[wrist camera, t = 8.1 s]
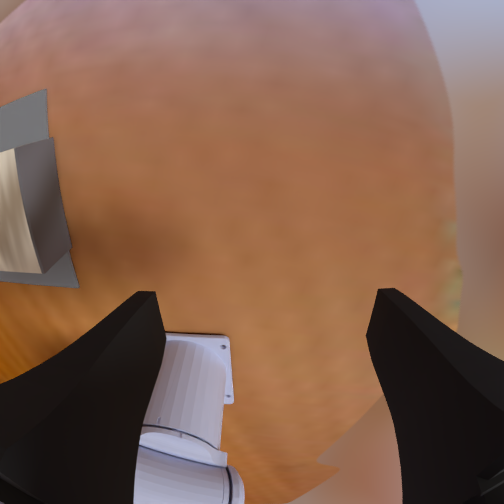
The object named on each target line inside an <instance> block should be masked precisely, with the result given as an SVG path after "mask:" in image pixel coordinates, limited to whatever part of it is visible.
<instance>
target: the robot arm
mask: <svg viewBox="0 0 504 504" xmlns="http://www.w3.org/2000/svg"><path fill="white" fill-rule="evenodd" d="M366 338H367V343H368V347H369V352H370V356H371V360H372V363H373V366H374V368H375V371H376V374H377V377H378V379H379V382H380V385H381V387H382V390H383V393H384V396H385V398H386V401H387V404H388V407H389V410H390V412H391V416H392V420H393V423H394V427H395V433H396V438H397V444H398V450H399V457H400V464H401V476H402V490H403V491H402V492H403V504H504V361H502V360H500V359H498V358H497V357H495V356H493V355H491V354H489V353H487V352H486V351H484V350H482V349H480V348H479V347H477V346H475V345H474V344H472V343H470V342H469V341H468V340H466V339H465V338H463V337H462V336H460V335H459V334H457V333H456V332H454V331H453V330H452V329H450V328H449V327H447V326H446V325H445V324H443V323H442V322H441V321H439V320H438V319H437V318H435V317H434V316H433V315H431V314H430V313H429V312H427V311H426V310H425V309H423V308H422V307H421V306H419V305H418V304H417V303H415V302H414V301H413V300H411V299H410V298H409V297H407V296H406V295H404V294H403V293H401V292H400V291H398V290H397V289H395V288H385V289H378V291H377V296H376V300H375V304H374V308H373V311H372V315H371V319H370V323H369V326H368V330H367V333H366ZM222 345H225V346H222ZM233 402H234V394H233V381H232V368H231V355H230V341H229V338H228V337H227V336H223V335H196V334H177V333H165V330H164V326H163V322H162V318H161V314H160V310H159V305H158V301H157V297H156V292H155V291H138V292H136V293H135V294H133V295H132V296H131V297H130V298H128V299H127V300H126V301H125V302H123V303H122V304H121V305H120V306H119V307H117V308H116V309H115V310H114V311H113V312H111V313H110V314H109V315H108V316H107V317H105V318H104V319H103V320H102V321H100V322H99V323H98V324H97V325H96V326H94V327H93V328H92V329H90V330H89V331H88V332H87V333H85V334H84V335H83V336H81V337H80V338H79V339H77V340H76V341H75V342H74V343H72V344H71V345H70V346H68V347H67V348H65V349H64V350H62V351H61V352H59V353H58V354H56V355H55V356H53V357H52V358H50V359H48V360H47V361H45V362H44V363H42V364H40V365H38V366H36V367H34V368H33V369H31V370H29V371H27V372H25V373H23V374H21V375H20V376H18V377H15V378H13V379H11V380H9V381H7V382H4V383H2V384H0V504H244V485H243V482H242V479H241V477H240V476H239V474H238V472H237V470H236V469H235V468H234V467H233V466H230V465H227V453H226V452H222V451H220V441H221V429H222V418H223V407H224V404H232V403H233Z"/></svg>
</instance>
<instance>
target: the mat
mask: <svg viewBox="0 0 504 504" xmlns="http://www.w3.org/2000/svg"><path fill="white" fill-rule="evenodd" d="M48 138H49V132H48V117H47V89H43V90H41V91H38V92H35V93H33V94H30V95H28V96H25V97H23V98H20V99H18V100H16V101H13V102H11V103H9V104H6V105H4V106H2V107H0V152H3V151H6V150H9V149H13V148H16V147H19V146H22V145H26V144H29V143H33V142H37V141H40V140H44V139H48ZM0 281H3V282H13V283H23V284H33V285H44V286H56V287H69V288H79V287H80V286H79V283H78V280H77V277H76V273H75V270H74V267H73V263H72V260H71V256H70V252H69V251H68V252H67V253H66V254H65V255H64V256H63V257H62V258H61V259H59V260H58V261H57V262H56V263H55V264H54V265H53V266H52V267H51V268H50V269H49V270H48V271H47V272H46V273H45V274H39V273H23V272H9V271H0Z"/></svg>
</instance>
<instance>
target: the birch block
mask: <svg viewBox="0 0 504 504" xmlns="http://www.w3.org/2000/svg"><path fill="white" fill-rule="evenodd" d="M71 248H72V244H71V240H70V236H69V232H68V227H67V223H66V218H65V213H64V208H63V203H62V198H61V192H60V186H59V180H58V173H57V166H56V158H55V149H54V139H53V137H52V138H48V139H44V140H40V141H37V142H33V143H29V144H26V145H22V146H19V147H16V148H13V149H9V150H6V151H3V152H0V271H9V272H23V273H39V274H45V273H46V272H47V271H48V270H49V269H50V268H51V267H52V266H53V265H54V264H55V263H56V262H57V261H58V260H59V259H61V258H62V257H63V256H64V255H65V254H66V253H67V252H68V251H69V250H70V249H71Z"/></svg>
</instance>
